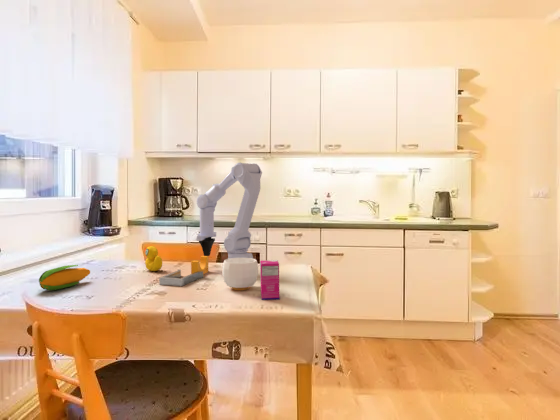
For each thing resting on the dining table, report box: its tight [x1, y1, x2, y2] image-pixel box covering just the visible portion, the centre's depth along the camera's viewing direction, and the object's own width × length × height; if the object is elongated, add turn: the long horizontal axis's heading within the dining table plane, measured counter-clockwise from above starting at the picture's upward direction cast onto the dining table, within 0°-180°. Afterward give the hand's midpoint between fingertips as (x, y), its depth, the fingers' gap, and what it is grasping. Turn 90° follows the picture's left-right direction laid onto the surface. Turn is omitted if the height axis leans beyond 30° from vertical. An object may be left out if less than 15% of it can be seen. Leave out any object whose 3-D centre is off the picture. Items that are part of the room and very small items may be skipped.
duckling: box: [144, 245, 163, 272], centre depth 170 cm, size 11×5×10 cm, turn 47°
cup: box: [221, 258, 259, 291], centre depth 142 cm, size 12×12×10 cm
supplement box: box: [259, 259, 281, 301], centre depth 130 cm, size 6×6×12 cm
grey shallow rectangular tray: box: [158, 269, 204, 287], centre depth 153 cm, size 11×15×2 cm
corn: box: [38, 264, 91, 291], centre depth 143 cm, size 7×8×20 cm
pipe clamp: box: [190, 255, 209, 275], centre depth 164 cm, size 12×4×6 cm, turn 170°
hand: (206, 255), depth 173 cm, fingers closed
